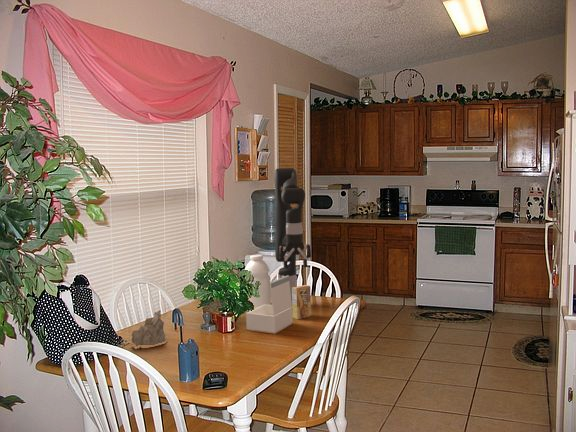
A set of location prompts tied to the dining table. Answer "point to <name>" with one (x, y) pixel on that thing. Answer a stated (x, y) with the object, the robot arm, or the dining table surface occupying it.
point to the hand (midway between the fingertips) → (295, 268)
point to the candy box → (301, 302)
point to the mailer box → (268, 319)
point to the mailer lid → (280, 295)
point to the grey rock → (150, 331)
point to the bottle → (260, 274)
